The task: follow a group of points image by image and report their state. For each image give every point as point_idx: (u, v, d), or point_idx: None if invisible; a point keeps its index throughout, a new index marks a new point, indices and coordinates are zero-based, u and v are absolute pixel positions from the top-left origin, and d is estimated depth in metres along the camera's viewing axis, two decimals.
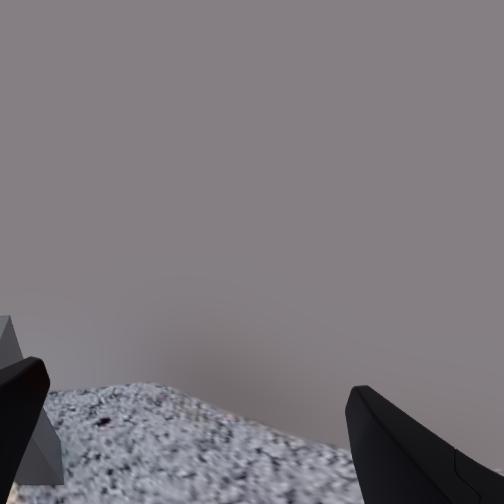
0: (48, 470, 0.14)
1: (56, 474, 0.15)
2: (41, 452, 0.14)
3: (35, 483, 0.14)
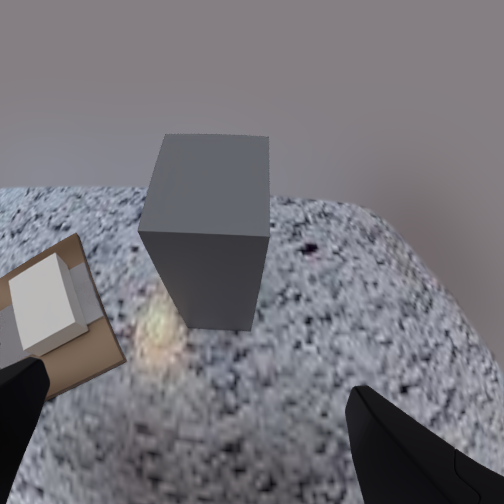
0: (244, 323, 0.20)
1: (251, 325, 0.20)
2: (253, 312, 0.18)
3: (213, 328, 0.21)
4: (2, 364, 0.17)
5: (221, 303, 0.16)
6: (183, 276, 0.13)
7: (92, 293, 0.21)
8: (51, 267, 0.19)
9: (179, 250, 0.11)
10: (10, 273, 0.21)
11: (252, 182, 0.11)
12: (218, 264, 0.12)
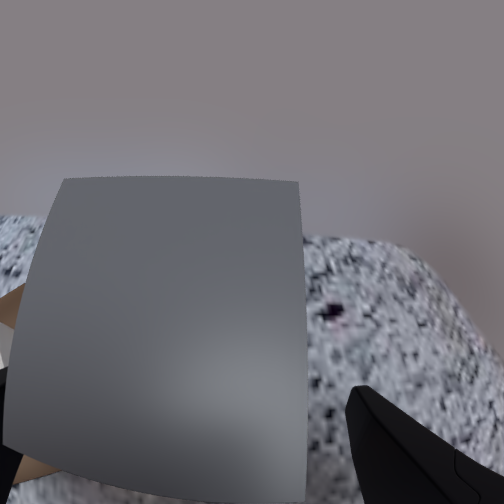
0: None
1: None
2: None
3: None
4: None
5: None
6: None
7: None
8: None
9: None
10: None
11: (258, 337, 0.04)
12: None
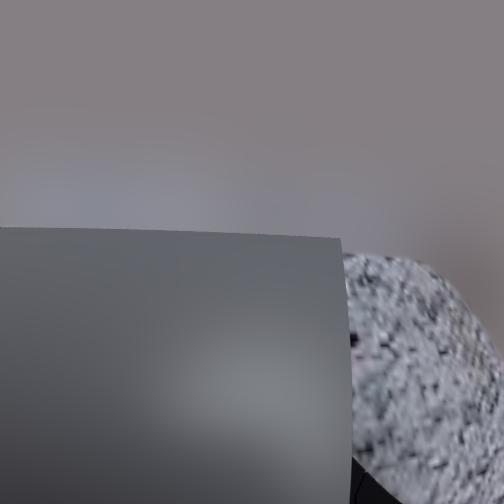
0: None
1: None
2: None
3: None
4: None
5: None
6: None
7: None
8: None
9: None
10: None
11: None
12: None
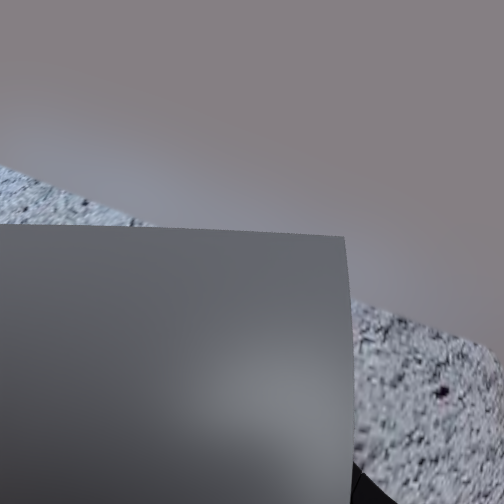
0: None
1: None
2: None
3: None
4: None
5: None
6: None
7: None
8: None
9: None
10: None
11: None
12: None
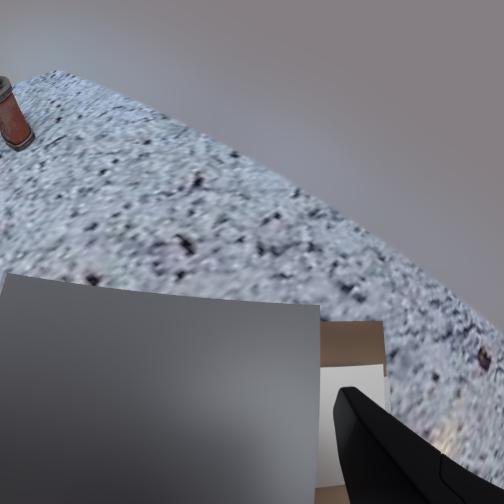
0: None
1: None
2: None
3: None
4: None
5: None
6: None
7: None
8: (372, 386, 0.13)
9: None
10: None
11: None
12: None
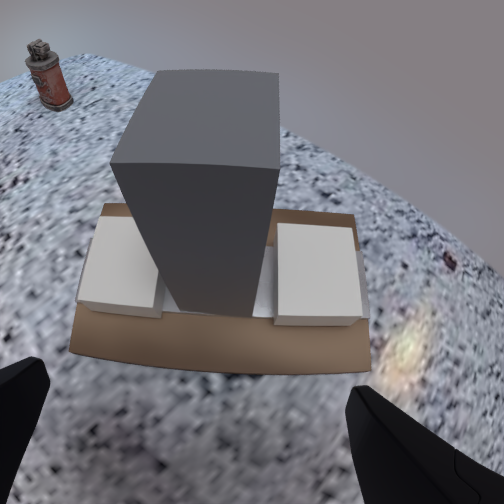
0: (245, 306, 0.17)
1: None
2: (255, 291, 0.15)
3: (209, 313, 0.19)
4: None
5: (217, 277, 0.14)
6: (170, 235, 0.11)
7: (365, 289, 0.20)
8: (344, 241, 0.19)
9: (162, 194, 0.09)
10: None
11: (258, 113, 0.09)
12: (213, 216, 0.10)
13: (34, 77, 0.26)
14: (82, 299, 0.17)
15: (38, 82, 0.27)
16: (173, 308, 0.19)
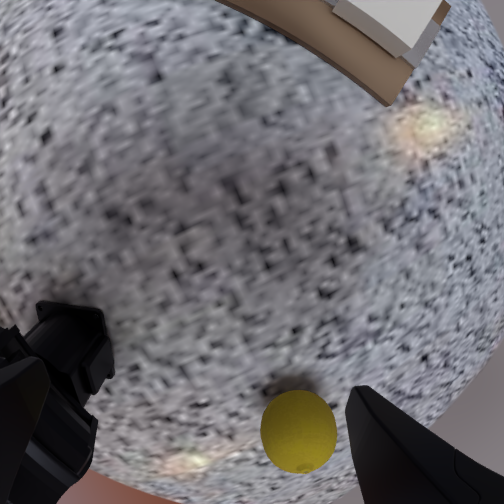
0: None
1: None
2: None
3: None
4: None
5: None
6: None
7: (425, 48, 0.15)
8: (430, 0, 0.12)
9: None
10: None
11: None
12: None
13: None
14: None
15: None
16: None
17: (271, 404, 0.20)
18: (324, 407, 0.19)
